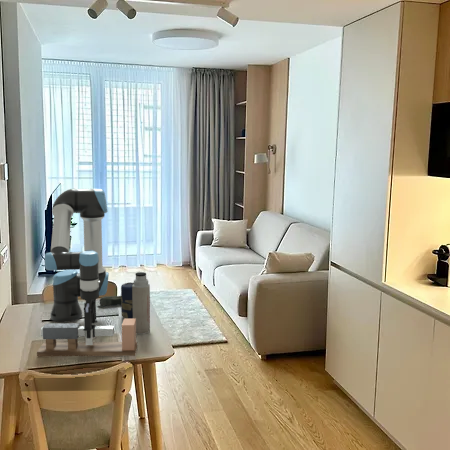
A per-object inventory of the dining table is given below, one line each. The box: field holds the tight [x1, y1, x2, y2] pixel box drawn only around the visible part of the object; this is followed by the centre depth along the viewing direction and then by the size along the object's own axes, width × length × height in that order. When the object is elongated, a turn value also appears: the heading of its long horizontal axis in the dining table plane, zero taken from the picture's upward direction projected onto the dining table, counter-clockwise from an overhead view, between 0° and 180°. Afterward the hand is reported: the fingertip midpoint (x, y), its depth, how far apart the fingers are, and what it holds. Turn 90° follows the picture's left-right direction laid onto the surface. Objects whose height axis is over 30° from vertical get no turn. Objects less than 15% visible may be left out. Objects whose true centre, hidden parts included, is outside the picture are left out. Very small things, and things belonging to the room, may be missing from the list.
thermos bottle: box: [132, 271, 151, 335], centre depth 239 cm, size 8×8×28 cm
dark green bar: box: [97, 295, 121, 308], centre depth 276 cm, size 5×3×15 cm
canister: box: [120, 282, 134, 319], centre depth 258 cm, size 10×10×18 cm
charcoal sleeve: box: [42, 322, 81, 340], centre depth 215 cm, size 5×14×5 cm, turn 94°
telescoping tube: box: [40, 324, 115, 338], centre depth 215 cm, size 4×30×4 cm, turn 94°
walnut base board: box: [36, 338, 139, 358], centre depth 216 cm, size 10×40×6 cm, turn 94°
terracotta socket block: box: [121, 318, 137, 350], centre depth 217 cm, size 8×5×11 cm, turn 4°
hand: (90, 341), depth 216 cm, fingers open, 6 cm apart
